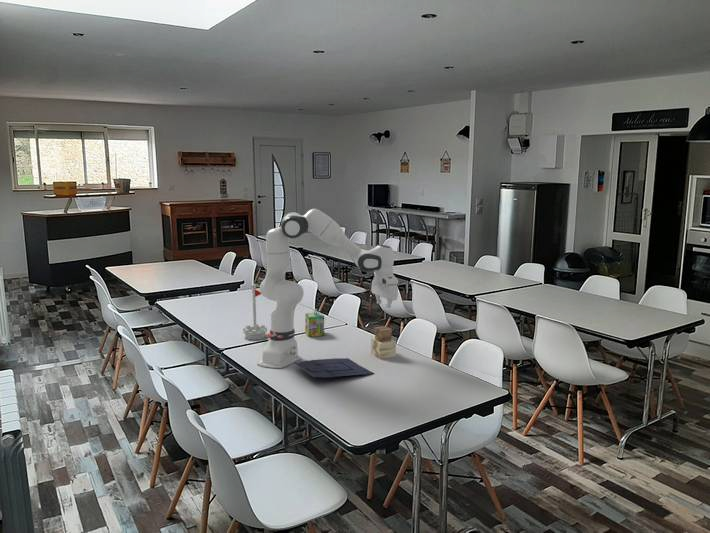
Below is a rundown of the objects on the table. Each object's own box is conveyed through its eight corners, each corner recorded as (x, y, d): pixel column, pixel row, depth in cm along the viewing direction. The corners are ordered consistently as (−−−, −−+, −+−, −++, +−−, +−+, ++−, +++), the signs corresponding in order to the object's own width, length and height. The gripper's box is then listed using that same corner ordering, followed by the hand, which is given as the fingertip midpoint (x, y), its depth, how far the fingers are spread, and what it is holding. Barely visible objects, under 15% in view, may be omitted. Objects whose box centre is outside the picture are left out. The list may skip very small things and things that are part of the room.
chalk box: (305, 333, 301) (304, 307, 299) (320, 331, 304) (320, 306, 302) (308, 337, 293) (308, 311, 290) (324, 336, 295) (324, 310, 293)
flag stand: (239, 338, 291) (236, 285, 286) (250, 332, 303) (248, 280, 298) (260, 341, 287) (258, 286, 282) (271, 334, 299) (269, 282, 294)
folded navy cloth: (291, 367, 244) (292, 359, 244) (347, 363, 260) (348, 356, 259) (315, 385, 223) (315, 376, 223) (374, 379, 239) (375, 371, 239)
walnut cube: (391, 340, 261) (391, 329, 260) (380, 342, 259) (380, 330, 258) (385, 337, 267) (385, 326, 266) (374, 339, 264) (375, 327, 263)
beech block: (395, 356, 262) (395, 341, 261) (379, 359, 258) (379, 343, 257) (386, 351, 270) (386, 336, 269) (371, 353, 266) (371, 338, 265)
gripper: (368, 275, 266) (368, 302, 268) (388, 282, 247) (388, 310, 250) (379, 274, 268) (379, 301, 270) (400, 281, 250) (399, 309, 252)
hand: (383, 305), depth 260 cm, fingers open, 8 cm apart
